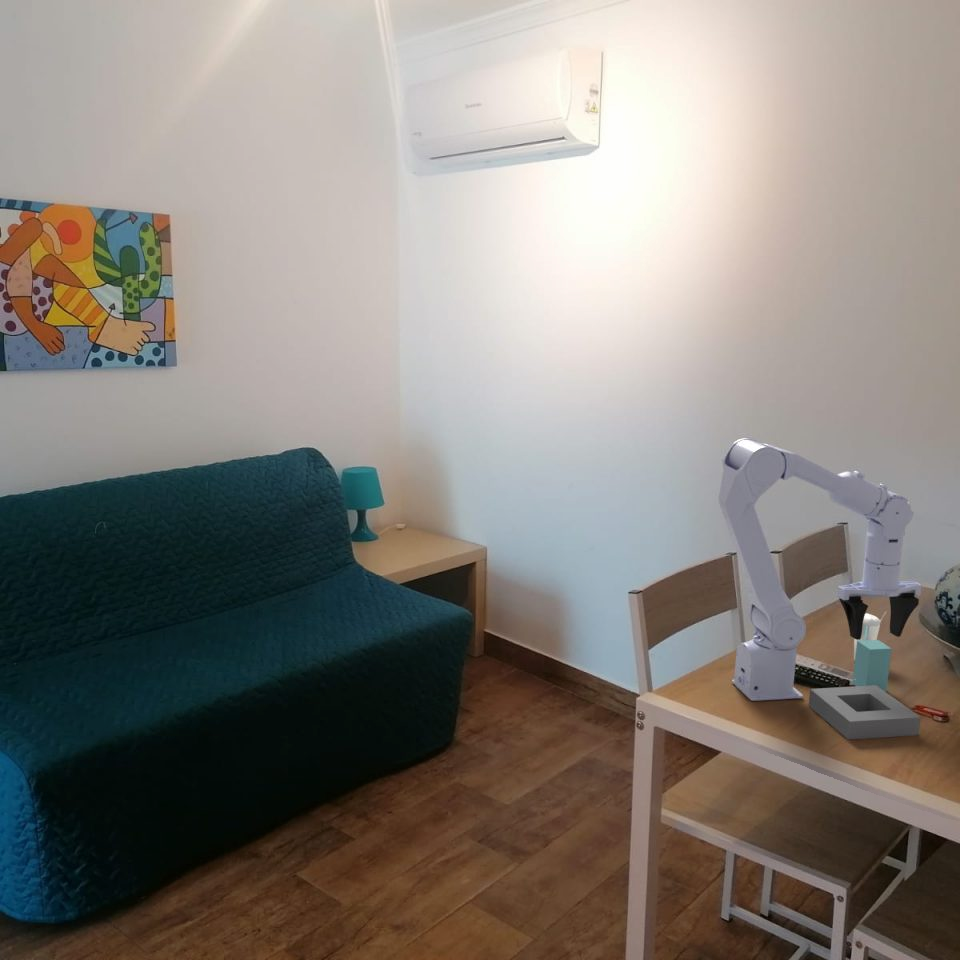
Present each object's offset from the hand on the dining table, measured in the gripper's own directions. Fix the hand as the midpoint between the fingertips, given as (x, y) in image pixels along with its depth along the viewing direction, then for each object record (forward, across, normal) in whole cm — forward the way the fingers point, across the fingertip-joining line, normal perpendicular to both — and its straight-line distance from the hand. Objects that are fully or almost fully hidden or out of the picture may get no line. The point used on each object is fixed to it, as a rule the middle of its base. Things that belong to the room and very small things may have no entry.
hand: (875, 636), depth 161 cm
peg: (+10, 0, 0) cm, 10 cm away
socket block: (+9, -9, -11) cm, 17 cm away
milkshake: (+10, +6, +11) cm, 16 cm away
